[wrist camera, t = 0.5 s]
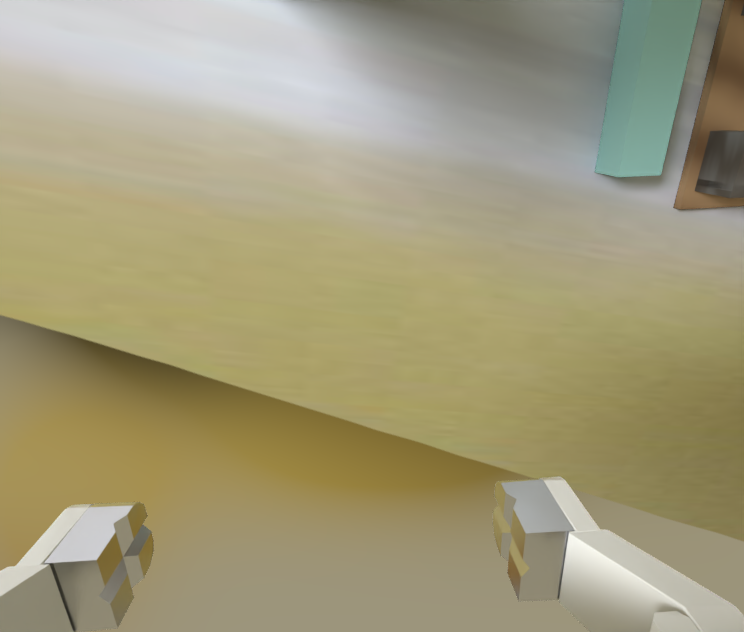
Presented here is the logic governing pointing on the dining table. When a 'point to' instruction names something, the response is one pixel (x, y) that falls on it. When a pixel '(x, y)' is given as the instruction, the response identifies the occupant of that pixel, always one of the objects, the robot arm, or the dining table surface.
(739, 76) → the sharpening stone holder
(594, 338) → the dining table surface
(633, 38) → the slat
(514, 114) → the dining table surface
